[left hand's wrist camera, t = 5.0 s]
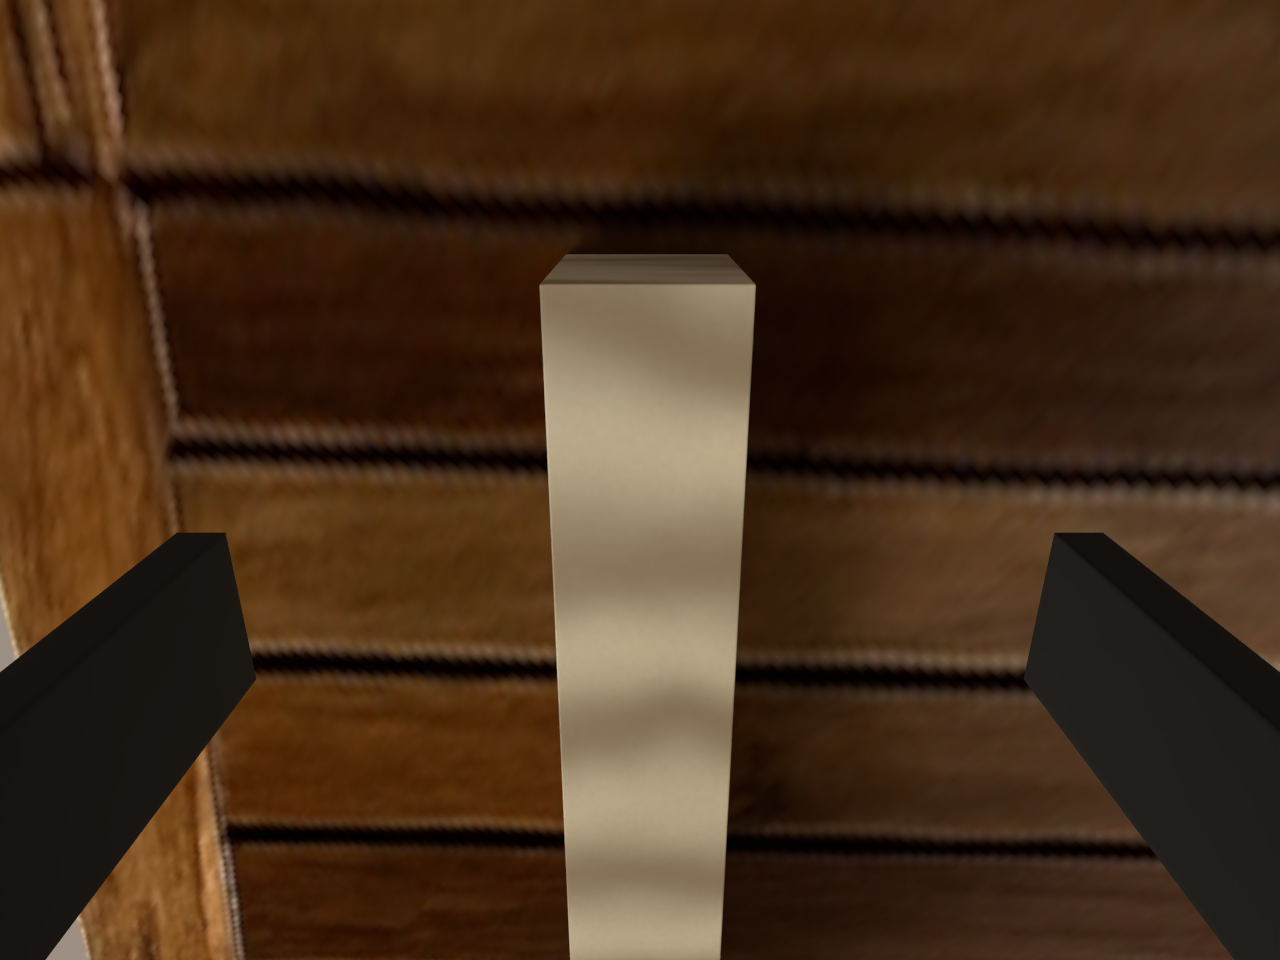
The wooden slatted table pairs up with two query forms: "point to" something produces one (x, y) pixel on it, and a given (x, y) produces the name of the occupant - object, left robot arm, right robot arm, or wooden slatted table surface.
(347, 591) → the wooden slatted table surface
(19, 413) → the wooden slatted table surface
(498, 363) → the wooden slatted table surface
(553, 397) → the birch plank
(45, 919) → the left robot arm
